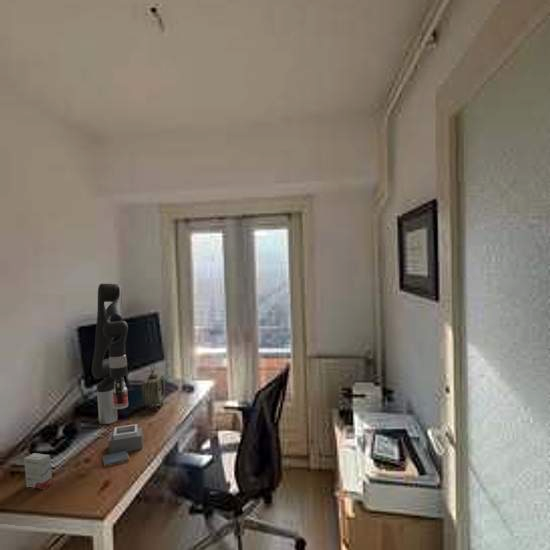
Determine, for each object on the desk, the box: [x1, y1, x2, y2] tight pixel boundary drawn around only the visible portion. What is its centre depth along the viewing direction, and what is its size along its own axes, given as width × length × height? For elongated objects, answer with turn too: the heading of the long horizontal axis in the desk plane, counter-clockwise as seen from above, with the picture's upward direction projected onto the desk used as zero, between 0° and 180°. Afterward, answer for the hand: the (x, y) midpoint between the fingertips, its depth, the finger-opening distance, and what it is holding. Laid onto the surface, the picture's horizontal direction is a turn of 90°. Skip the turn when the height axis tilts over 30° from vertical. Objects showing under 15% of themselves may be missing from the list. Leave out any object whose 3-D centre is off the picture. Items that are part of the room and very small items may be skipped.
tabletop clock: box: [141, 364, 166, 412], centre depth 247 cm, size 14×9×25 cm, turn 179°
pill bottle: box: [113, 381, 129, 410], centre depth 198 cm, size 6×6×11 cm
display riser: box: [108, 423, 144, 455], centre depth 199 cm, size 10×14×8 cm
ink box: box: [23, 452, 54, 490], centre depth 169 cm, size 9×5×12 cm, turn 71°
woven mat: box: [101, 450, 131, 468], centre depth 187 cm, size 10×11×2 cm
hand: (120, 401), depth 198 cm, fingers closed on pill bottle, 6 cm apart
